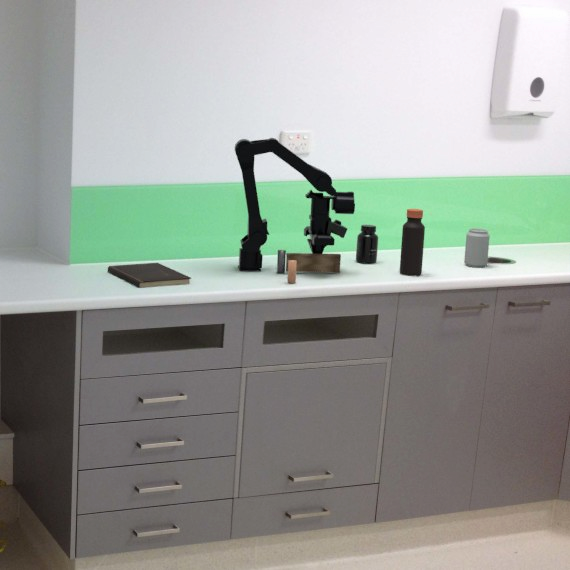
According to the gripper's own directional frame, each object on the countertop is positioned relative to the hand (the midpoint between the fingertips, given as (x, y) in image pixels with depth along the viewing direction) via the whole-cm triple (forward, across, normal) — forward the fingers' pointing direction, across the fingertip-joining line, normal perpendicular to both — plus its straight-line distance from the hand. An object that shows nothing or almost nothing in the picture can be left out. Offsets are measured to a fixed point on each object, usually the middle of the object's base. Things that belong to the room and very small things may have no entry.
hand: (317, 263), depth 328 cm
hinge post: (+2, -4, +12) cm, 13 cm away
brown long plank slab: (+2, -4, +2) cm, 5 cm away
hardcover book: (+3, -12, +52) cm, 53 cm away
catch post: (+2, -17, +11) cm, 20 cm away
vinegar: (+3, -2, -29) cm, 29 cm away
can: (+3, +13, -55) cm, 57 cm away
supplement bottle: (+3, +16, -19) cm, 25 cm away
